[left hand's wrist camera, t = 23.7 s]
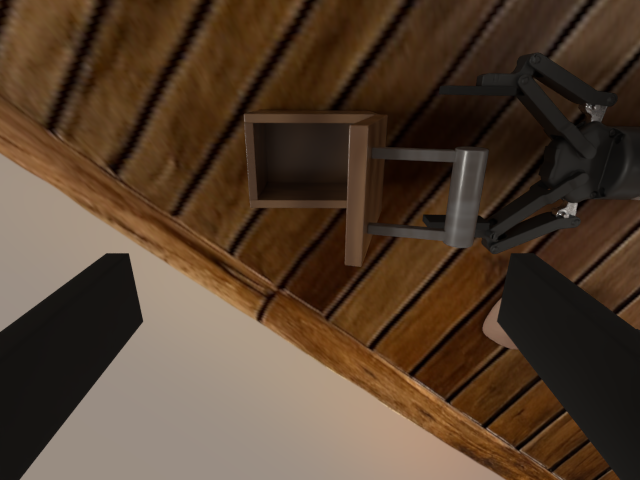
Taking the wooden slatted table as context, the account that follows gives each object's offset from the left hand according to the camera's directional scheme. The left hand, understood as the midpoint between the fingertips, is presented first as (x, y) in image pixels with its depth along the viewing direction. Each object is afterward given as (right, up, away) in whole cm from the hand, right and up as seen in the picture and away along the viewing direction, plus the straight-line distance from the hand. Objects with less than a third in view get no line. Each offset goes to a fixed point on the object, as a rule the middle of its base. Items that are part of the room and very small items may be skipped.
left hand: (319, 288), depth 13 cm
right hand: (+12, +10, +25) cm, 30 cm away
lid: (+3, +7, +17) cm, 18 cm away
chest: (-1, +13, +32) cm, 34 cm away
